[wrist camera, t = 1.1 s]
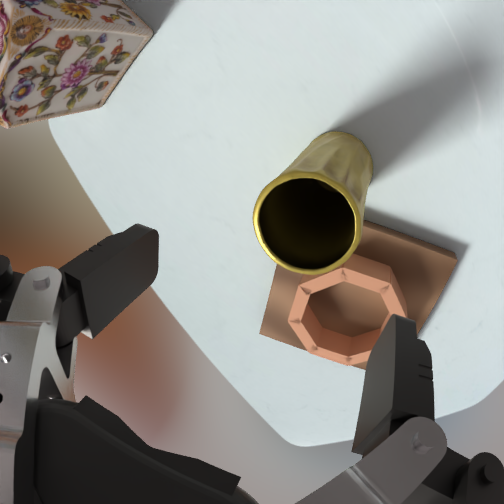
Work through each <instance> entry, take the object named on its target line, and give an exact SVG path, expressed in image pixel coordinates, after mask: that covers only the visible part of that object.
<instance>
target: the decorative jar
mask: <svg viewBox="0 0 504 504" xmlns="http://www.w3.org/2000/svg"><path fill="white" fill-rule="evenodd" d="M152 35H153V31H152V29H151V28H150V27H149V26H148V25H147V24H146V23H145V22H144V21H142V19H140V18H139V17H138V16H137V15H136V14H135V13H134V12H133V11H132V10H131V9H130V8H129V7H128V6H127V5H126V4H125V3H124V2H123V1H122V0H0V125H2V126H3V127H5V128H13V127H16V126H20V125H24V124H28V123H32V122H36V121H41V120H45V119H50V118H55V117H60V116H65V115H69V114H74V113H79V112H84V111H88V110H93V109H97V108H101V107H102V105H103V104H104V102H105V101H106V99H107V98H108V96H109V95H110V93H111V92H112V91H113V89H114V88H115V86H116V85H117V83H118V82H119V80H120V79H121V77H122V76H123V74H124V73H125V72H126V70H127V69H128V67H129V66H130V64H131V63H132V62H133V60H134V59H135V57H136V56H137V55H138V53H139V52H140V51H141V50H142V48H143V47H144V46H145V44H146V43H147V42H148V41H149V39H150V38H151V37H152Z"/></svg>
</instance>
